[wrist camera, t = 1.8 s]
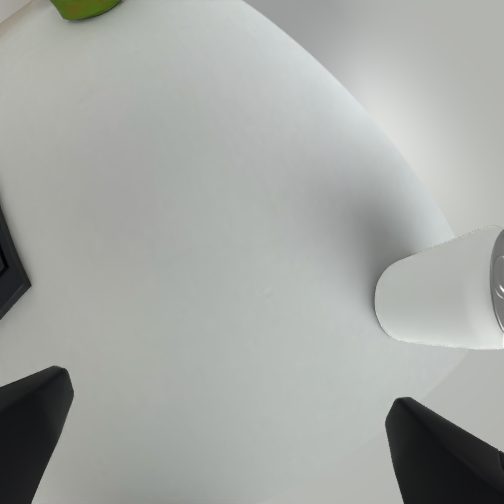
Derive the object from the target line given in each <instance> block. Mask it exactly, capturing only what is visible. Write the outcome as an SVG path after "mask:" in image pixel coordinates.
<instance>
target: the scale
mask: <svg viewBox="0 0 504 504" xmlns="http://www.w3.org/2000/svg"><path fill="white" fill-rule="evenodd" d="M30 287H31V284H30V281H29V279H28V277H27V275H26V273H25V270H24V268H23V266H22V263H21V261H20V259H19V256H18V254H17V251H16V249H15V246H14V244H13V241H12V238H11V236H10V233H9V230H8V227H7V225H6V222H5V219H4V216H3V213H2V210H1V206H0V320H1V319H2V317H3V316H4V315H5V314H6V313H7V312H8V311H9V310H10V308H11V307H12V306H13V305H14V304H15V303H16V302H17V301H18V300H19V299H20V297H21V296H22V295H23V294H24V293H25V292H26V291H27V290H28V289H29V288H30Z"/></svg>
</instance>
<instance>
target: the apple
mask: <svg viewBox="0 0 504 504" xmlns="http://www.w3.org/2000/svg"><path fill="white" fill-rule="evenodd" d="M50 1H51V2H52V3H53V5H54V6H55V7H56V8H57V10H58V11H59V13H60V14H61V16H62V17H63V19H67V20H75V19H81V18H89V17H93V16H97V15H100V14H102V13H104V12H106V11H108V10H110V9H111V8H113V7H114V6H116V5H117V4H118V3H119V2H120V0H50Z"/></svg>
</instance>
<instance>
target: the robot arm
mask: <svg viewBox="0 0 504 504" xmlns="http://www.w3.org/2000/svg"><path fill="white" fill-rule="evenodd" d="M73 397H74V391H73V387H72V383H71V380H70V376H69V373H68V371H67V370H66V369H65V368H62V367H59V366H51V367H49V368H47V369H44V370H42V371H39V372H37V373H35V374H32V375H30V376H27V377H25V378H22V379H20V380H17V381H15V382H12V383H10V384H7V385H5V386H2V387H0V504H31V503H32V500H33V498H34V495H35V493H36V490H37V488H38V485H39V483H40V480H41V478H42V476H43V473H44V471H45V469H46V467H47V464H48V462H49V460H50V458H51V455H52V453H53V451H54V449H55V447H56V444H57V442H58V440H59V437H60V435H61V432H62V429H63V426H64V423H65V420H66V417H67V414H68V412H69V409H70V406H71V404H72V401H73ZM385 427H386V432H387V437H388V442H389V447H390V452H391V458H392V463H393V467H394V471H395V475H396V478H397V481H398V485H399V488H400V491H401V495H402V498H403V502H404V504H504V453H503V452H502V451H499V450H498V449H496V448H495V447H493V446H491V445H489V444H488V443H486V442H484V441H482V440H480V439H479V438H477V437H475V436H474V435H472V434H470V433H469V432H467V431H465V430H463V429H462V428H460V427H458V426H456V425H455V424H453V423H452V422H450V421H448V420H446V419H445V418H443V417H442V416H440V415H438V414H437V413H435V412H433V411H432V410H430V409H428V408H427V407H425V406H423V405H422V404H420V403H419V402H417V401H416V400H414V399H412V398H411V397H402V398H397V399H396V400H395V401H394V403H393V405H392V407H391V409H390V411H389V413H388V415H387V417H386V421H385Z"/></svg>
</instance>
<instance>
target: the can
mask: <svg viewBox="0 0 504 504" xmlns="http://www.w3.org/2000/svg"><path fill="white" fill-rule="evenodd" d="M375 311H376V315H377V318H378V321H379V323H380V325H381V326H382V328H383V329H384V330H385V332H386V333H387V334H389V335H390V336H391V337H393V338H395V339H397V340H400V341H404V342H411V343H419V344H428V345H437V346H447V347H458V348H470V349H471V348H472V349H489V350H497V349H503V348H504V227H503V226H498V225H491V226H487V227H483V228H481V229H478V230H475V231H473V232H471V233H468V234H465V235H463V236H461V237H458V238H455V239H453V240H450V241H448V242H445V243H443V244H440V245H438V246H435V247H433V248H430V249H427V250H425V251H422V252H420V253H417V254H414V255H412V256H409V257H407V258H404V259H402V260H399V261H397V262H395V263H393V264H392V265H390V266H389V267H388V268H387V269H386V270H385V271H384V272H383V274H382V275H381V277H380V278H379V280H378V283H377V286H376V291H375Z"/></svg>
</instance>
